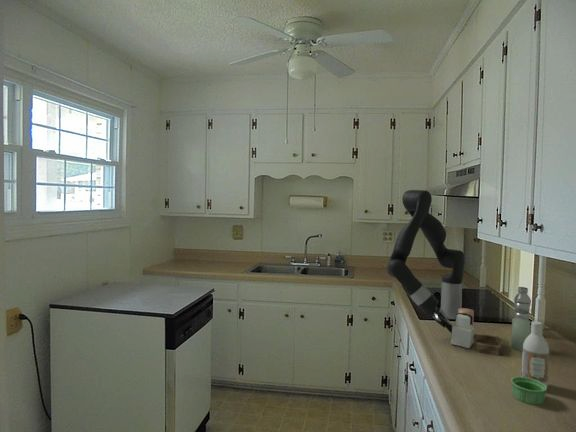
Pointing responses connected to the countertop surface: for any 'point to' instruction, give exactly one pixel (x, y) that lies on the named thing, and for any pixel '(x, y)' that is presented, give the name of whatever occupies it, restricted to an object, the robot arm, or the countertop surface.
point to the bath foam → (535, 355)
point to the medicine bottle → (463, 331)
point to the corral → (489, 348)
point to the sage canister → (519, 333)
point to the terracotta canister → (467, 312)
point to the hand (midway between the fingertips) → (454, 332)
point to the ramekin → (528, 390)
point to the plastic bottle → (522, 303)
